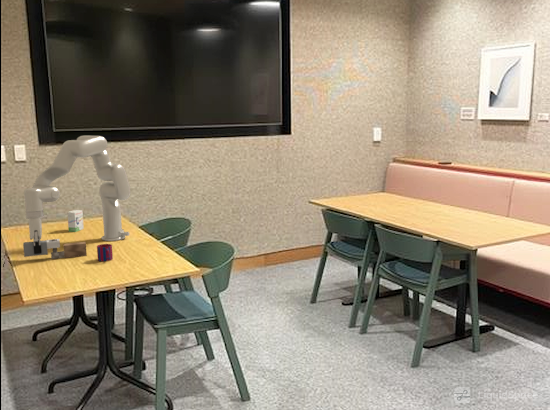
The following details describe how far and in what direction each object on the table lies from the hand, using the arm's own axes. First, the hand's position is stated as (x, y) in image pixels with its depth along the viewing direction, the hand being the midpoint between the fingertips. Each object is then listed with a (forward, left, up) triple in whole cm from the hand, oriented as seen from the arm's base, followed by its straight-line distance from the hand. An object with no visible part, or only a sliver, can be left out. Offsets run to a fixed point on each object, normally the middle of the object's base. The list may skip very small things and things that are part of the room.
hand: (37, 252), depth 247 cm
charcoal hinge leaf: (-2, -1, -1) cm, 2 cm away
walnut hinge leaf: (-12, -6, -4) cm, 14 cm away
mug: (-33, +1, -4) cm, 33 cm away
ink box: (+9, -64, -4) cm, 65 cm away
